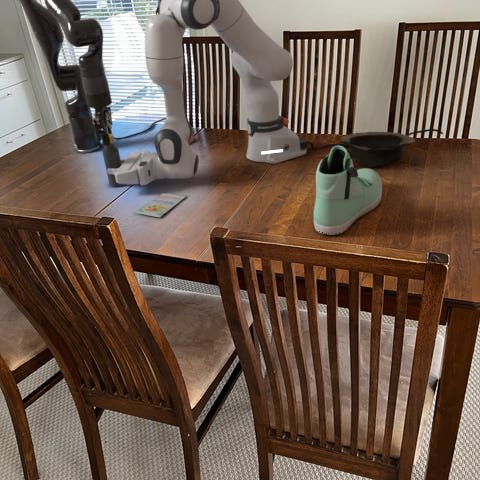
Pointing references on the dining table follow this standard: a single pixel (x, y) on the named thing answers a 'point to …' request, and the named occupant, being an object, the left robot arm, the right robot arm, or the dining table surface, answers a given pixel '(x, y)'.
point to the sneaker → (343, 192)
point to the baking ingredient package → (160, 205)
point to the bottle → (112, 162)
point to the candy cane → (191, 139)
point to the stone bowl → (376, 147)
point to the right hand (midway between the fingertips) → (111, 167)
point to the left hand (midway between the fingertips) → (108, 142)
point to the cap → (111, 138)
